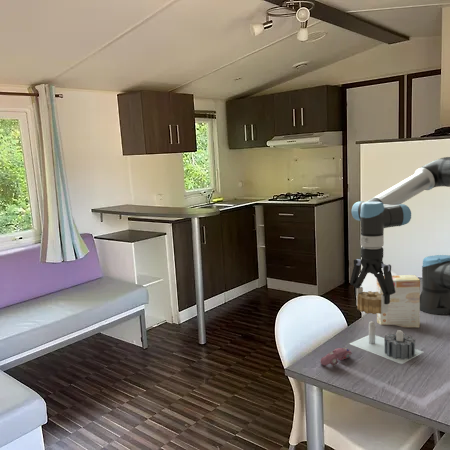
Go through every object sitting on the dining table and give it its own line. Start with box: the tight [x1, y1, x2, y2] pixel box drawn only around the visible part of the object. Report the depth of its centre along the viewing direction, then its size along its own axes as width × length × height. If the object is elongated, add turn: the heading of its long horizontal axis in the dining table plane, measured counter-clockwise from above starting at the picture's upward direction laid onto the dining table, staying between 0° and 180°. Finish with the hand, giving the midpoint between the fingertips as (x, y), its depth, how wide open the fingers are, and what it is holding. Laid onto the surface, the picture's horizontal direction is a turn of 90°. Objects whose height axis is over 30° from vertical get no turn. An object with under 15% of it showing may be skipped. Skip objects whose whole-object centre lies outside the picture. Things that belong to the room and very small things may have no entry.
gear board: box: [349, 320, 424, 365], centre depth 158 cm, size 13×21×10 cm, turn 36°
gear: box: [383, 332, 416, 360], centre depth 154 cm, size 10×10×5 cm
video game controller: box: [320, 346, 353, 367], centre depth 152 cm, size 10×5×7 cm, turn 118°
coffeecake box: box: [376, 274, 421, 329], centre depth 180 cm, size 15×7×20 cm, turn 84°
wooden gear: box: [357, 290, 383, 315], centre depth 160 cm, size 10×10×5 cm
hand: (371, 308), depth 161 cm, fingers closed on wooden gear, 10 cm apart
